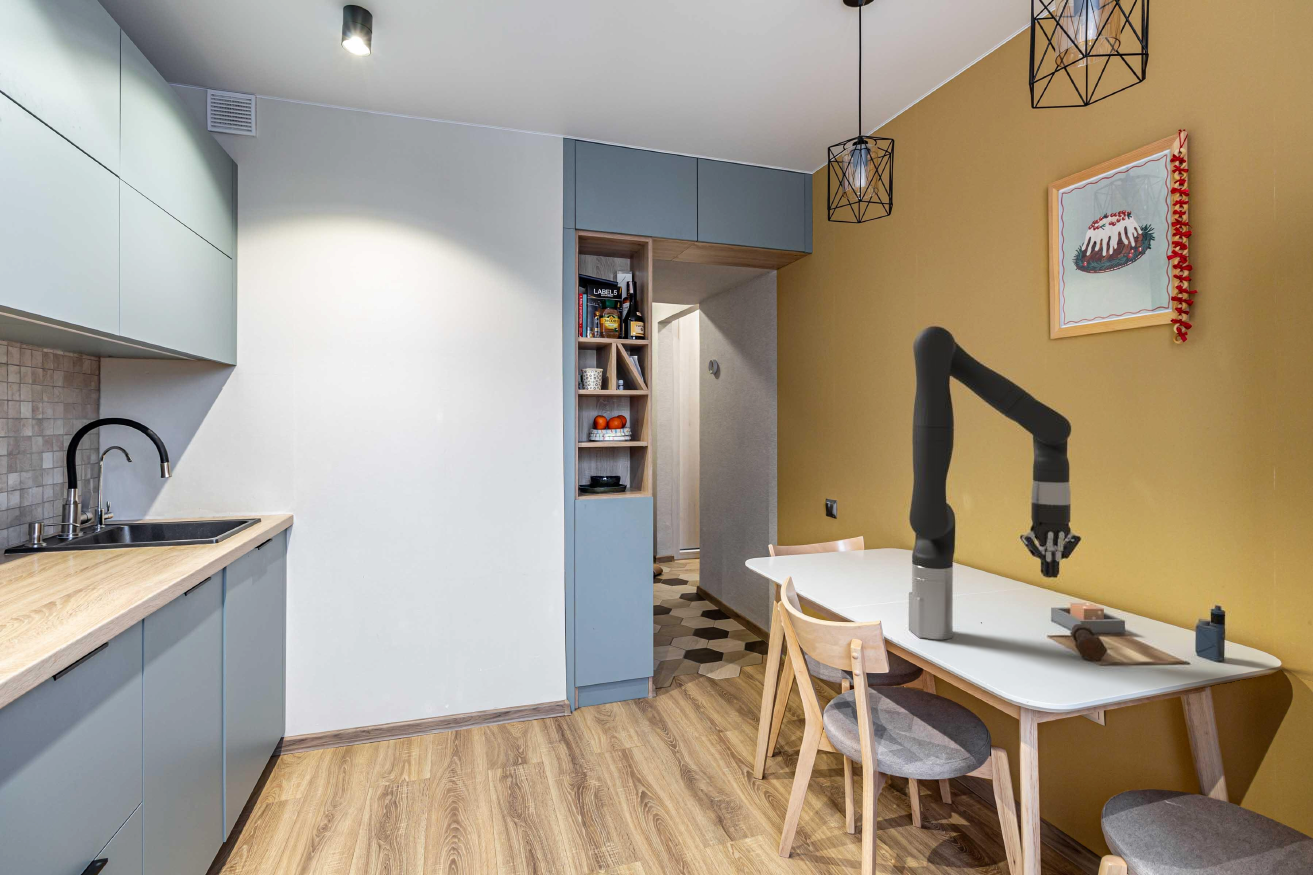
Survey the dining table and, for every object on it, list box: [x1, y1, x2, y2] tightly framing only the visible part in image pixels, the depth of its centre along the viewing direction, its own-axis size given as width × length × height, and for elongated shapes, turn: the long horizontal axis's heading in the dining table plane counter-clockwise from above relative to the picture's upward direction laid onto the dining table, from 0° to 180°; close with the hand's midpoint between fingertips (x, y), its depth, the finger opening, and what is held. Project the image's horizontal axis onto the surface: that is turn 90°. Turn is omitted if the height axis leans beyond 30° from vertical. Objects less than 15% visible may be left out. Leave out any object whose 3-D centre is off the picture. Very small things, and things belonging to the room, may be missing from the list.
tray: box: [1050, 606, 1126, 635], centre depth 157 cm, size 11×11×4 cm
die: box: [1069, 602, 1105, 620], centre depth 157 cm, size 5×5×5 cm
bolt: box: [1069, 624, 1107, 662], centre depth 142 cm, size 6×5×15 cm
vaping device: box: [1194, 604, 1226, 663], centre depth 136 cm, size 3×5×12 cm, turn 16°
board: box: [1046, 633, 1191, 666], centre depth 142 cm, size 20×18×1 cm
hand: (1050, 576), depth 141 cm, fingers closed
